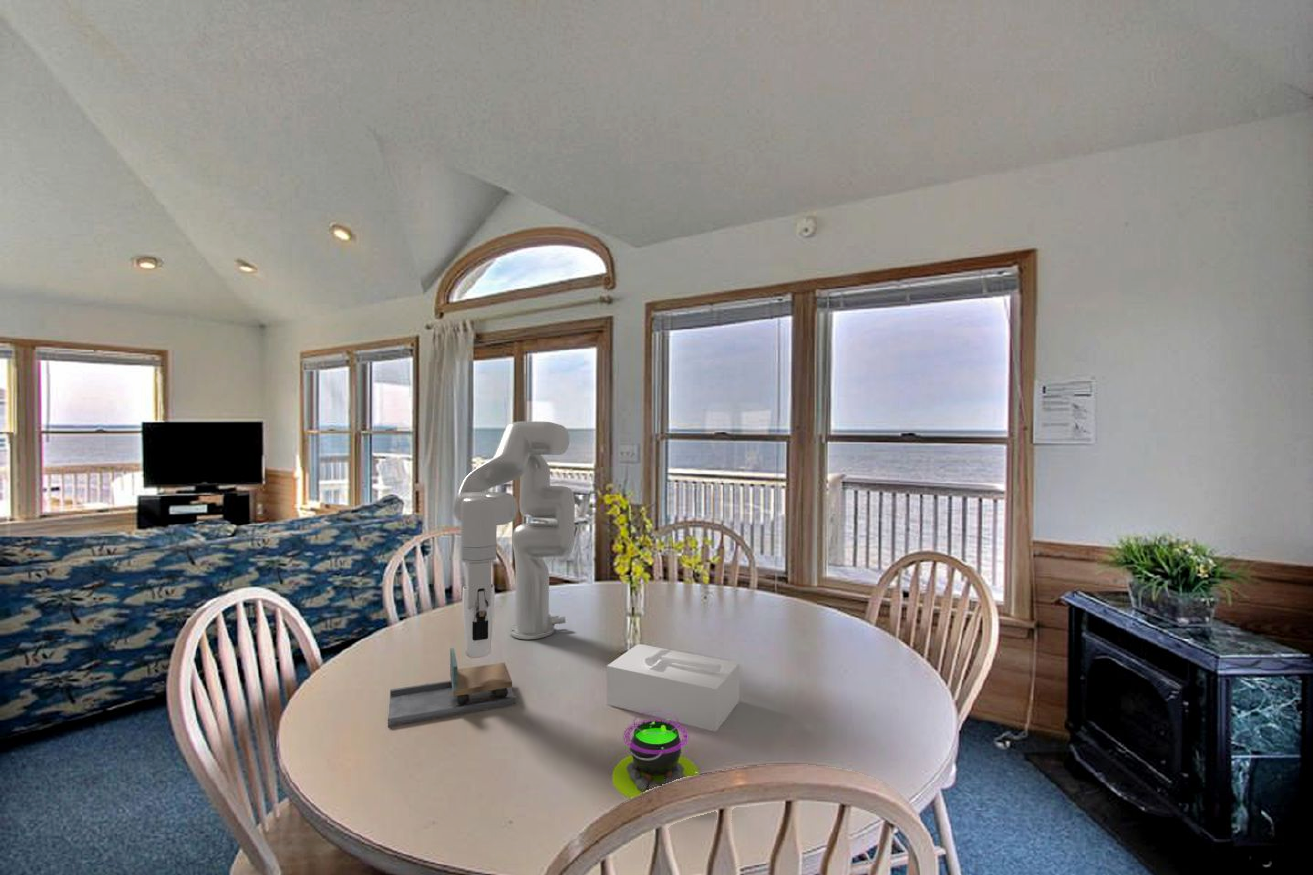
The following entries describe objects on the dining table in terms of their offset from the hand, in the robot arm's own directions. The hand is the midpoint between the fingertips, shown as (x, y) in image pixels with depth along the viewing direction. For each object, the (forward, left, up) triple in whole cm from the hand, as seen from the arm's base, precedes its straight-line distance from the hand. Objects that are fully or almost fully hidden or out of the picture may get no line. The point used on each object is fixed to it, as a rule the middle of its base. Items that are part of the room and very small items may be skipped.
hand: (478, 633), depth 129 cm
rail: (+5, 0, -14) cm, 15 cm away
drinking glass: (0, 0, -5) cm, 5 cm away
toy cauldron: (-25, +42, -14) cm, 51 cm away
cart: (0, 0, -14) cm, 14 cm away
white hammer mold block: (-39, +18, -15) cm, 45 cm away
